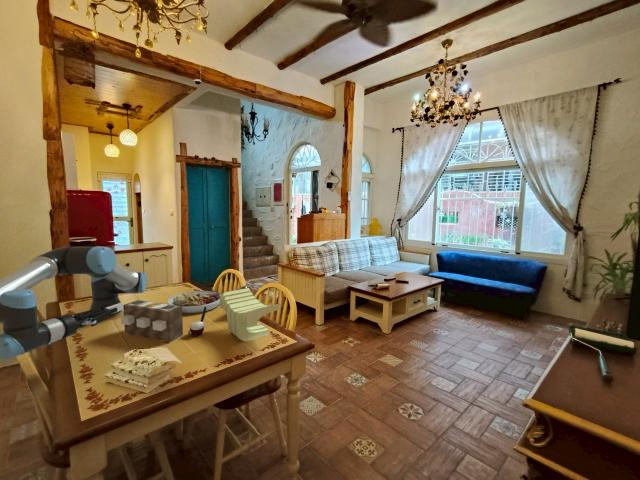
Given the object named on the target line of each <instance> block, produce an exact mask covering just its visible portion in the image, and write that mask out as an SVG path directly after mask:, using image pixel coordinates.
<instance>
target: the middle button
mask: <svg viewBox="0 0 640 480" xmlns="http://www.w3.org/2000/svg"><path fill="white" fill-rule="evenodd" d="M136 321H137V327H141V328H146V327H148V326H150V318H146V317H141V318H139V319H136Z"/></svg>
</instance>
